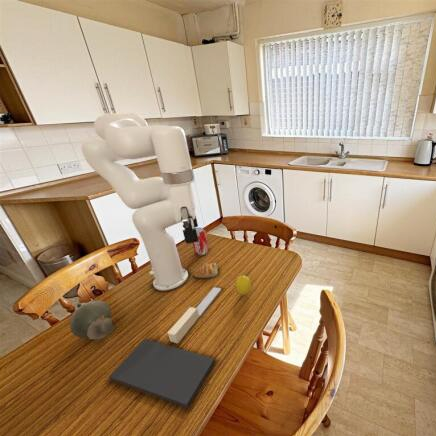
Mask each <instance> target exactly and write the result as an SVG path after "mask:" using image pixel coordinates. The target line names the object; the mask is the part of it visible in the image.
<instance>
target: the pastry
mask: <svg viewBox="0 0 436 436" xmlns="http://www.w3.org/2000/svg"><path fill="white" fill-rule="evenodd" d="M218 273H219V272H218V264H217V263H216V262H212V263H206V264H204V265H202V266H199V267H197V268H196V269H195V270H194V271H193V273H192V275H193V276H194V277H195V278H198V279H201V278H202V279H206V278H214V277H216V276H217V275H218Z"/></svg>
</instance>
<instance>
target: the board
mask: <svg viewBox="0 0 436 436" xmlns="http://www.w3.org/2000/svg"><path fill="white" fill-rule="evenodd" d="M215 364H216V360H215V358H213V357H209V356H207V355H202V354H199V353H196V352H192V351H189V350H185V349H183V348H178V347H174V346H172V345H168V344H165V343H161V342H157V341H154V340H150V339H147V338H144V339H143V340H142V341H141V342H140V343H139V344H138V346H136V347H135V348H134V349H133V350H132V352H131V353H130V354H129V355H128V356H127V357H126V358H125V359H123V361H122V362H121V363H120V364H119V365H118V366H117V367H116V368H115V369H114V371H112V373H110V374H109V376H108V378H109V379H110V381H112V382H115V383H117V384H120V385H123V386H126V387H128V388H131V389H134V390H137V391H140V392H142V393H145V394H148V395H149V396H153V397H156V398H158V399H161V400H164V401H167V402H169V403H172V404H175V405H177V406H180V407H183V408H185V409H189V407H190V406H191V404H192V402H193V401H194V399H195V397H196V396H197V394H198V392H199V390H201V387H202V386H203V384H204V382H205V381H206V379H207V377H208V375H209V374H210V372H211V371H212V369H213V367H214V366H215Z"/></svg>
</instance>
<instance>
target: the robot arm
mask: <svg viewBox="0 0 436 436" xmlns="http://www.w3.org/2000/svg"><path fill="white" fill-rule="evenodd" d="M93 129H94V132H95V133H96V135H98V136H97V137H92V138H89V139H87V140H85V141H84V142H83V143H82V144H81V152H82V156H83V157H84V159H85V161H86V162H87V164H88V165H89V166H90V168H92V170H93V171H94V172H96V174H98V175H99V176H100V177H101V178H102V179H104V180H106V182H108V184H109V185H110V186H111V188H112V189H113V190H114V192H115V193H116V195H117V196H118V197H119V199H121V201H122V203H124V205H125V206H126V207H127V208H129V209H132V210H135V211H133V213H132V214H131V215H132V217H131V218H132V223H133V225H134V227H135V229H136V231H137V232H138V234H139V235H140V238H141V240H142V242H143V245H144V247H145V250H146V253H147V256H148V259H149V262H150V265H151V271H149V272H148V273H149V275H150V276H153V278H154V279H153V281H152V285H153V287H154V289H155V290H158V291H170V290H173V289H177V288H178V287H180V286H182V285H184V283H186V281H187V280H188V278H189V272H188V270H187V269H185V268H183V267H182V262H181V259H180V255H179V251H178V248H177V245H176V241H175V238H174V237H173V235H172V234H171V233H169V232H167V231H165V229H168V228H170V227H172V226H174V225H177V224H179V223H181V227H182V233H183V237H184V241H185V244H186V245H187V244H188V245H189V244H193V242H198V236H197V232H196V228H199V224H198V220H197V215H196V202H195V197H194V192H193V188H192V184H193V183H194V182H195V181H196V179H195V175H194V170H193V166H192V161H191V156H190V152H189V146H188V142H187V138H186V133H185V130H184V129H183V128H182V127H180V126H179V125H167V124H150V125H148V123H147V120H146V119H145V118H144V117H143V116H142V115H140V114H138V113H133V112H132V113H131V112H128V113H127V112H126V113H107V114H102V115H100V116H98V117H97V118H95V120H94V122H93ZM149 157H151V158H152V157H156V160H157V164H158V167H159V171H160V175H161V177H160V176H152V177H151V176H150V177H147V178H139V177H138V176H137V175H136V173H135V172H134V170H132V169H131V168H129V167H128V166H126V165H123V164H120V163H118V161H124V160H138V159H139V160H140V159H144V158H149Z"/></svg>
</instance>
